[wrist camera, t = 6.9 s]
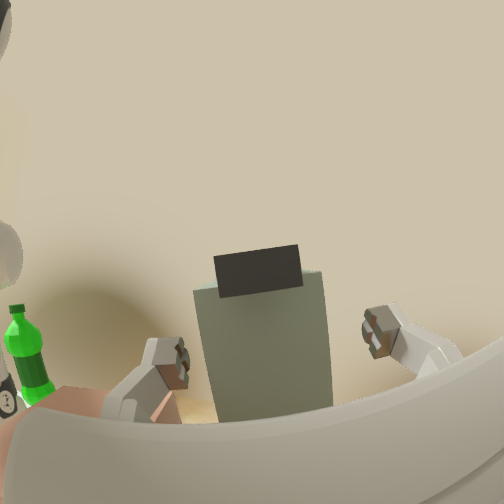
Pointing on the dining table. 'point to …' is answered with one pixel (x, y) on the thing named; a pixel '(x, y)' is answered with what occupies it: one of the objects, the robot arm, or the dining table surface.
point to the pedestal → (266, 350)
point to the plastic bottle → (28, 356)
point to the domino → (258, 271)
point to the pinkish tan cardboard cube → (79, 404)
